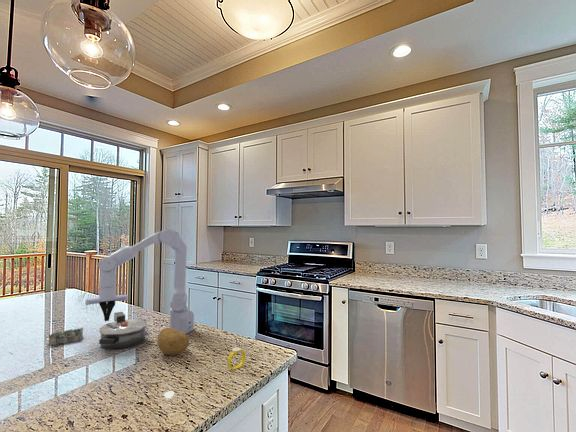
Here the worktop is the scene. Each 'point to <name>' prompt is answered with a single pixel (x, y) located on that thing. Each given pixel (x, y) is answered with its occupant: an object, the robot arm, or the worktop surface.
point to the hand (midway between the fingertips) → (106, 320)
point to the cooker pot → (122, 340)
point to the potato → (172, 341)
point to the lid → (122, 326)
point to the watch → (234, 350)
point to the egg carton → (65, 336)
